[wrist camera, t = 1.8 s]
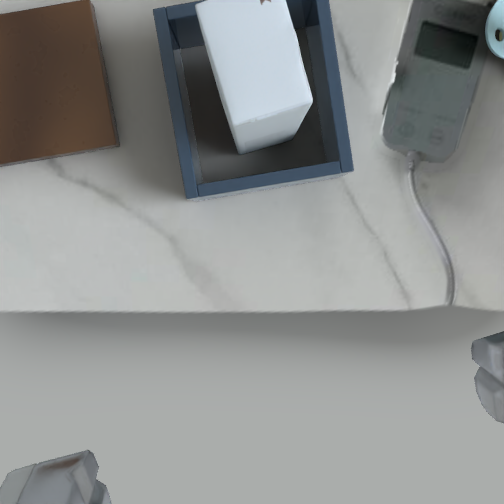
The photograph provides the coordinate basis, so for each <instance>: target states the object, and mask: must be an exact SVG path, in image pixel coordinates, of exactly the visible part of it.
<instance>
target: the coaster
mask: <svg viewBox="0 0 504 504" xmlns="http://www.w3.org/2000/svg"><path fill="white" fill-rule="evenodd" d="M119 146H120V144H119V139H118V134H117V128H116V123H115V117H114V112H113V107H112V101H111V96H110V91H109V85H108V80H107V75H106V69H105V64H104V59H103V53H102V48H101V43H100V37H99V32H98V27H97V21H96V16H95V10H94V6H93V4H92V3H91V1H90V0H80V1H74V2H69V3H63V4H57V5H52V6H46V7H40V8H34V9H29V10H23V11H17V12H11V13H6V14H0V167H2V166H8V165H14V164H20V163H26V162H32V161H37V160H43V159H49V158H55V157H61V156H67V155H73V154H79V153H85V152H90V151H96V150H102V149H108V148H114V147H119Z"/></svg>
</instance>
